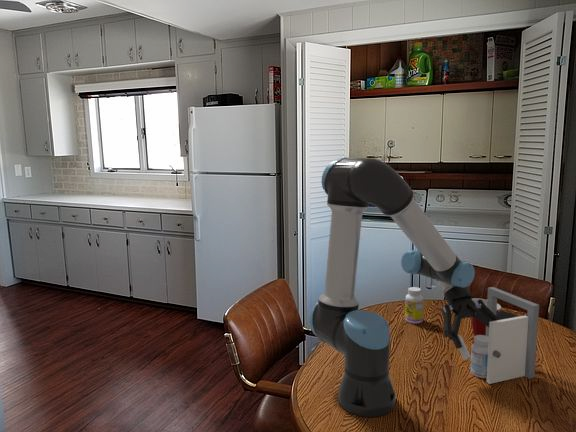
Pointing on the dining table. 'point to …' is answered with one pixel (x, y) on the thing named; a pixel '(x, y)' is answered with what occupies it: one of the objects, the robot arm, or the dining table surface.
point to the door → (507, 349)
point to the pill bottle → (479, 356)
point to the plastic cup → (479, 326)
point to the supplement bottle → (414, 306)
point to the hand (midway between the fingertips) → (486, 354)
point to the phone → (505, 315)
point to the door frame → (532, 323)
